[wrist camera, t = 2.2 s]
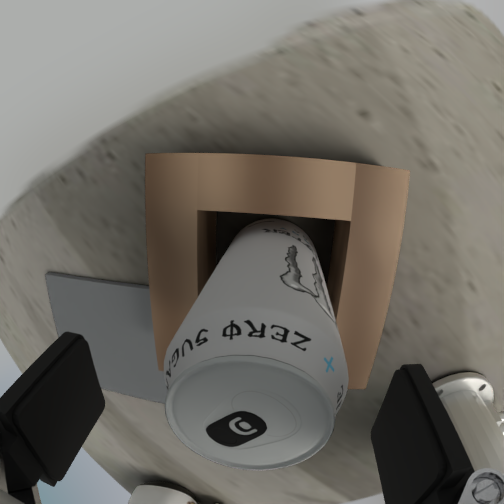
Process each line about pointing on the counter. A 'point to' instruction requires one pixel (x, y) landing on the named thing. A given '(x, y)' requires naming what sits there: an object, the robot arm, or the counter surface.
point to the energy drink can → (258, 355)
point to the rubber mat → (111, 331)
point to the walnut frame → (276, 203)
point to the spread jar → (161, 494)
